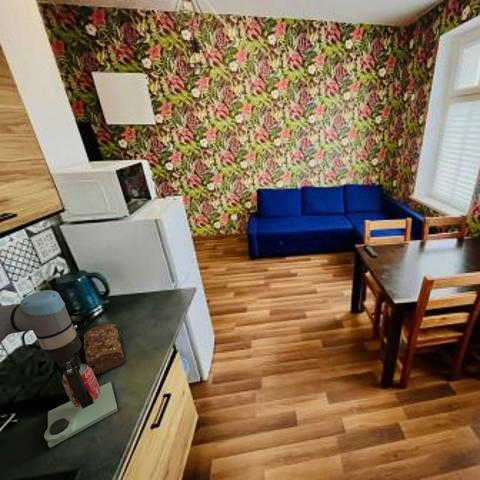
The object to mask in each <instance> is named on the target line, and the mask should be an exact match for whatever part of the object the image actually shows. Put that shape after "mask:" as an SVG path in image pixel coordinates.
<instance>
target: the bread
mask: <svg viewBox="0 0 480 480" xmlns="http://www.w3.org/2000/svg"><path fill="white" fill-rule="evenodd" d="M83 346H84V347H83V348H84V353H85V355H84V356H85V357H84V358H85V363H86V365H87V366H88V367H90V368H91V369H92V371H93V373H94V375H95V376H97V375H99V374H104V373H105V372H107V371H109V370H111V369H113V368H117V367H119V366H121V365H123V364H125V362H126V361H125V356H124V353H123V348H122V344H121V339H120V335H119V331H118V327H117V325H116V324H113V323H112V324H109V323H108V324H107V323H106V324H102V325H97V326H94V327H92V328H90V329H88V330H87V331H85V333H84V334H83Z"/></svg>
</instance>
